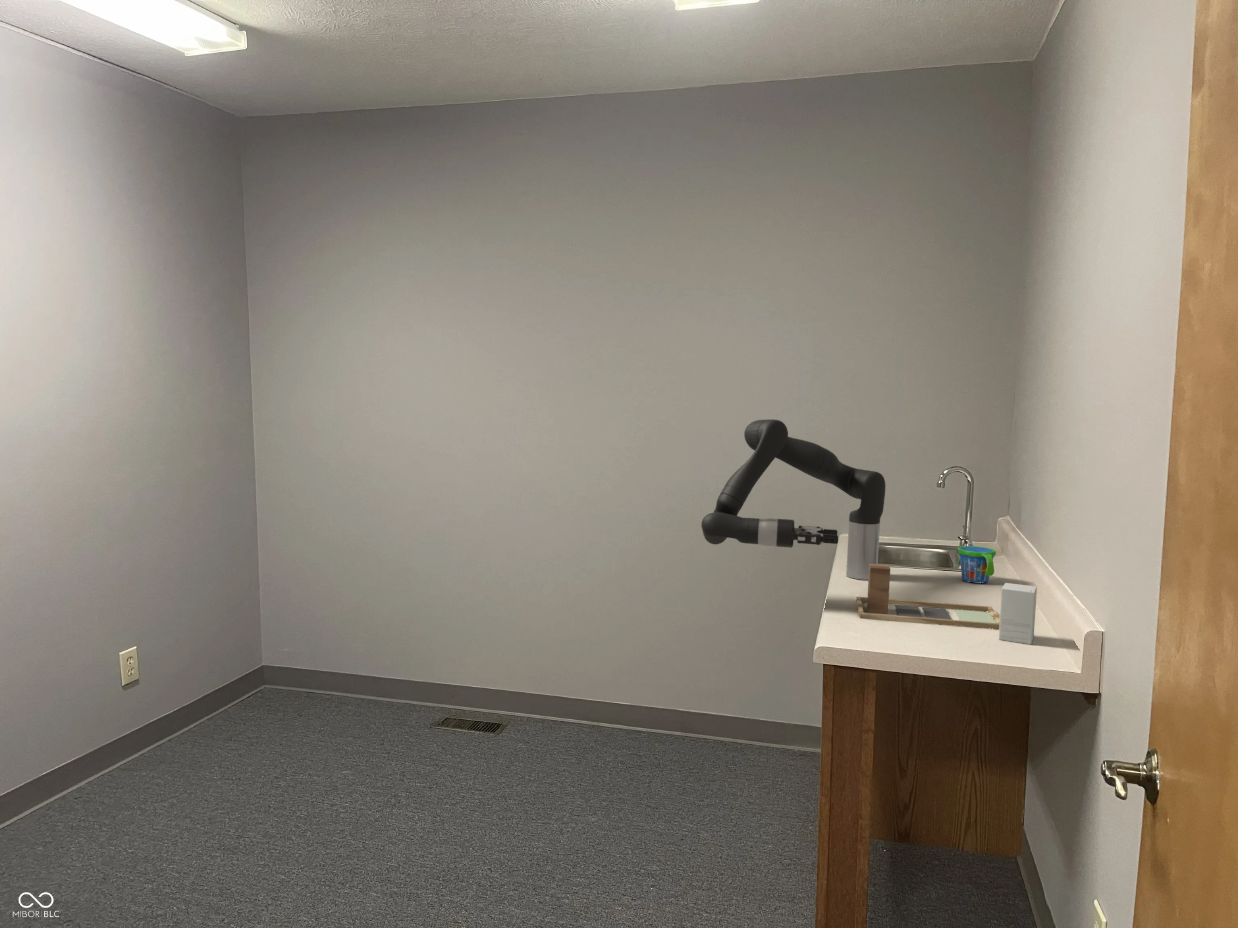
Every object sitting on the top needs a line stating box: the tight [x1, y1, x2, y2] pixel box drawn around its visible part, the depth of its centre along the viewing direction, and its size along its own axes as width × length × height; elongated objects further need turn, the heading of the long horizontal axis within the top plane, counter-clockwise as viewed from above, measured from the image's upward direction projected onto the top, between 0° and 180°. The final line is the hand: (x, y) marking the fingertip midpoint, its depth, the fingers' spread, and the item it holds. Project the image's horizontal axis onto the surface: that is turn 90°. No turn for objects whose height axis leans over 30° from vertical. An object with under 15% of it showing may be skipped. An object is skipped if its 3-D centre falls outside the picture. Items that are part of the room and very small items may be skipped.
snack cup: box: [957, 545, 997, 584], centre depth 267 cm, size 16×10×10 cm
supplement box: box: [998, 582, 1038, 645], centre depth 208 cm, size 7×7×13 cm
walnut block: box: [866, 563, 891, 615], centre depth 230 cm, size 5×5×12 cm
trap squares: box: [894, 605, 953, 620], centre depth 229 cm, size 12×13×1 cm
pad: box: [953, 609, 996, 623], centre depth 226 cm, size 12×8×1 cm
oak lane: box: [855, 596, 1000, 630], centre depth 228 cm, size 18×35×1 cm, turn 77°
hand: (837, 536), depth 231 cm, fingers open, 8 cm apart
